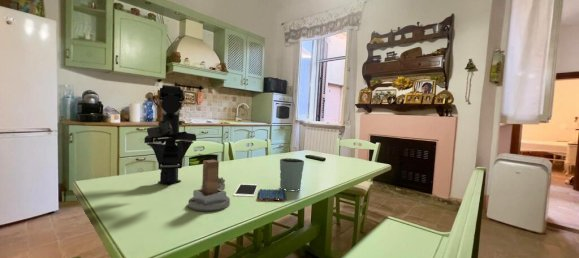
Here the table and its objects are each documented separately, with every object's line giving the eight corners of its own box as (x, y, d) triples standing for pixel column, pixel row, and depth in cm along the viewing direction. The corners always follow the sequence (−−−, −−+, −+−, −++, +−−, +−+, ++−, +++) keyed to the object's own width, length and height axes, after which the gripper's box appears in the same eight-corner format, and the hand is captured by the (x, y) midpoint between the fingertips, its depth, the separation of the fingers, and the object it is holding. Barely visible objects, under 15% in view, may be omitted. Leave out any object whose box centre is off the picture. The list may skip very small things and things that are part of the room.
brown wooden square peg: (201, 199, 84) (203, 160, 84) (211, 197, 87) (213, 159, 86) (207, 202, 82) (208, 162, 81) (217, 200, 85) (218, 161, 84)
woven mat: (258, 193, 101) (258, 188, 101) (284, 194, 101) (285, 189, 101) (256, 202, 90) (256, 196, 90) (285, 203, 91) (286, 197, 91)
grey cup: (273, 188, 107) (275, 159, 106) (287, 183, 115) (289, 157, 115) (293, 193, 101) (295, 163, 101) (307, 188, 110) (308, 160, 109)
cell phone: (232, 197, 95) (232, 195, 94) (240, 185, 111) (240, 183, 111) (253, 197, 95) (253, 196, 95) (258, 185, 111) (258, 184, 111)
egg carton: (225, 191, 101) (225, 180, 101) (205, 191, 99) (205, 181, 98) (224, 183, 111) (224, 174, 111) (205, 184, 109) (206, 174, 109)
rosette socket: (181, 203, 84) (181, 189, 84) (216, 195, 94) (217, 183, 94) (200, 215, 75) (200, 200, 75) (237, 205, 85) (237, 192, 85)
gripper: (131, 118, 89) (129, 163, 86) (174, 112, 82) (172, 161, 80) (157, 122, 99) (156, 163, 97) (197, 117, 93) (197, 161, 91)
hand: (169, 162), depth 91 cm, fingers open, 9 cm apart
